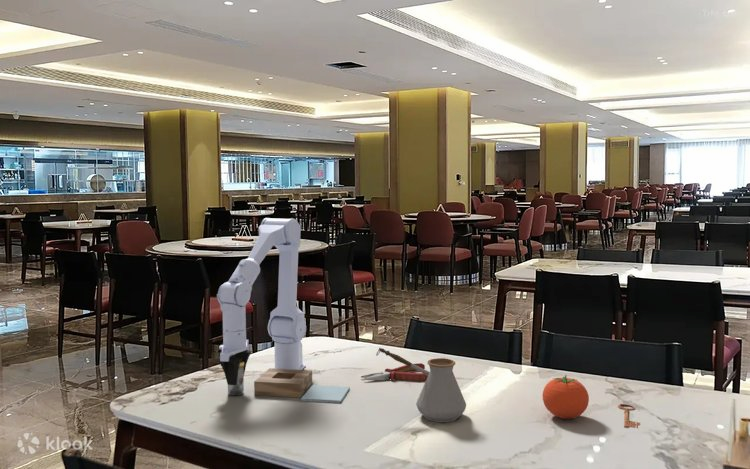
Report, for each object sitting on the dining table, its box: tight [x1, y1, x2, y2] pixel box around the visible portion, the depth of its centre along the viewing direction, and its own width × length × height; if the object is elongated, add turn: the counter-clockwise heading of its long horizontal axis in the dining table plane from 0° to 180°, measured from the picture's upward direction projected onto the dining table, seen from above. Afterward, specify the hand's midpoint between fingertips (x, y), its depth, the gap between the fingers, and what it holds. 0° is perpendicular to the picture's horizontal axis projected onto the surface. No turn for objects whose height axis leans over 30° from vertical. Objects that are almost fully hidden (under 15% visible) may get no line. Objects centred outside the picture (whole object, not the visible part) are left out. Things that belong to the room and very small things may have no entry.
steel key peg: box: [227, 360, 245, 396], centre depth 168 cm, size 4×4×8 cm
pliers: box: [360, 362, 428, 382], centre depth 182 cm, size 12×20×3 cm, turn 107°
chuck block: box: [253, 368, 313, 398], centre depth 172 cm, size 12×12×4 cm
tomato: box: [541, 374, 590, 420], centre depth 151 cm, size 10×10×10 cm
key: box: [617, 403, 641, 429], centre depth 152 cm, size 6×1×15 cm
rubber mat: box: [300, 384, 351, 404], centre depth 168 cm, size 11×10×1 cm
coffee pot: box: [375, 347, 467, 423], centre depth 153 cm, size 21×12×15 cm, turn 72°
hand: (235, 381), depth 168 cm, fingers closed on steel key peg, 4 cm apart
